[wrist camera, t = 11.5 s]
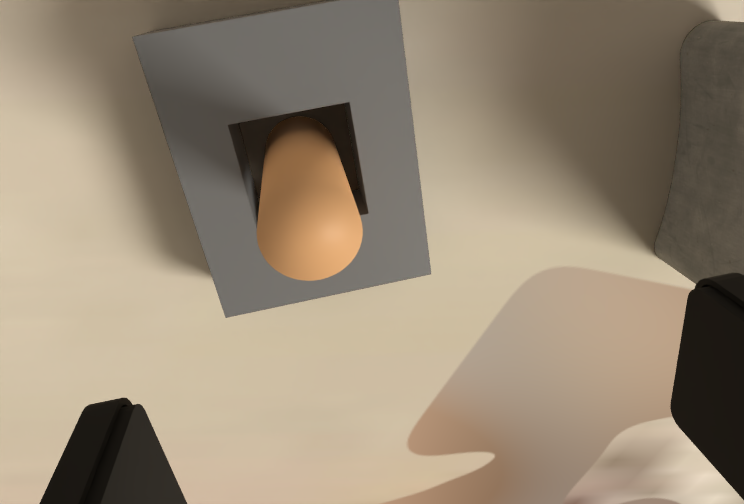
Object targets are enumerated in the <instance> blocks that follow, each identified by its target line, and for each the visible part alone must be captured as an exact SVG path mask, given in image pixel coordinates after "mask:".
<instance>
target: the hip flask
mask: <svg viewBox="0 0 744 504" xmlns="http://www.w3.org/2000/svg"><path fill="white" fill-rule="evenodd" d="M680 68H681V112H680V127H679V136H678V145H677V152H676V159H675V166H674V172H673V178H672V183H671V188H670V192H669V197H668V201H667V205H666V209H665V213H664V216H663V220H662V223H661V226H660V229H659V232H658V235H657V238H656V241H655V247H654V249H655V253H656V255H657V256H658V258H660V259H661V260H663V261H664V262H665V263H667V264H668V265H670V266H671V267H673V268H674V269H675V270H677V271H678V272H680V273H681V274H683V275H684V276H685V277H687V278H688V279H690V280H691V281H692V282H694V283H695V284H697V283H698V281H699V280H702V279H704V278H709V277H714V276H718V275H723V274H728V273H740V274H742V275H744V22H730V21H715V20H713V21H706V22H703V23H701V24H699V25H698V26H696V27H695V28H694V29H693V30H692V31H691V32H690V33H689V34H688V36H687V37H686V38H685V40H684V42H683V45H682V47H681V52H680Z"/></svg>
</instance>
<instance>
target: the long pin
mask: <svg viewBox="0 0 744 504" xmlns="http://www.w3.org/2000/svg"><path fill="white" fill-rule="evenodd" d="M362 236H363V227H362V221H361V217H360V215H359V212H358V209H357V206H356V203H355V200H354V197H353V194H352V192H351V189H350V186H349V183H348V180H347V177H346V174H345V172H344V169H343V166H342V163H341V160H340V157H339V154H338V152H337V149H336V146H335V143H334V140H333V138H332V136H331V134H330V132H329V131H328V129H327V128H326V127H325V126H324V125H323V124H321V123H320V122H318V121H317V120H314V119H312V118H309V117H303V116H296V117H291V118H288V119H285V120H283V121H281V122H280V123H278V124H277V125H276V126H275V127H274V128H273V129H272V131H271V132H270V134H269V136H268V138H267V142H266V148H265V157H264V166H263V175H262V185H261V194H260V203H259V213H258V222H257V242H258V246H259V249H260V251H261V253H262V255H263V257H264V258H265V260H266V261H267V262H268V263H269V264H270V265H271V267H273V268H274V269H275V270H276V271H278V272H280V273H281V274H283V275H285V276H287V277H290V278H293V279H297V280H305V281H314V280H321V279H324V278H328V277H330V276H333V275H335V274H337V273H339V272H340V271H341V270H343V269H344V268H345V267H347V266H348V265H349V264H350V263H351V261H352V260H353V259H354V257H355V256H356V254H357V252H358V250H359V248H360V245H361V242H362Z"/></svg>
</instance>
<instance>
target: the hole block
mask: <svg viewBox="0 0 744 504" xmlns="http://www.w3.org/2000/svg"><path fill="white" fill-rule="evenodd" d="M132 38H133V41H134V44H135V47H136V50H137V53H138V56H139V59H140V62H141V65H142V68H143V71H144V74H145V77H146V80H147V83H148V86H149V89H150V92H151V95H152V98H153V101H154V104H155V107H156V110H157V113H158V116H159V119H160V122H161V125H162V128H163V131H164V134H165V137H166V140H167V143H168V146H169V149H170V152H171V155H172V158H173V161H174V164H175V167H176V170H177V173H178V176H179V179H180V182H181V185H182V188H183V191H184V194H185V197H186V200H187V203H188V206H189V209H190V212H191V215H192V218H193V221H194V224H195V227H196V230H197V233H198V236H199V239H200V242H201V245H202V248H203V251H204V254H205V257H206V260H207V263H208V266H209V269H210V272H211V275H212V278H213V281H214V284H215V287H216V290H217V293H218V296H219V299H220V302H221V305H222V308H223V311H224V314H225V317H226V318H227V317H232V316H237V315H241V314H246V313H251V312H255V311H260V310H265V309H269V308H274V307H279V306H284V305H288V304H293V303H298V302H302V301H307V300H312V299H317V298H321V297H326V296H331V295H335V294H340V293H345V292H350V291H354V290H359V289H364V288H368V287H373V286H378V285H383V284H387V283H392V282H397V281H401V280H406V279H411V278H416V277H420V276H425V275H430V274H431V268H430V259H429V251H428V243H427V234H426V226H425V218H424V209H423V201H422V193H421V184H420V176H419V168H418V159H417V151H416V143H415V134H414V126H413V118H412V109H411V101H410V93H409V84H408V76H407V68H406V59H405V51H404V43H403V34H402V26H401V18H400V9H399V1H398V0H327V1H321V2H316V3H310V4H304V5H298V6H293V7H287V8H281V9H276V10H270V11H264V12H259V13H253V14H247V15H241V16H236V17H230V18H224V19H219V20H213V21H207V22H202V23H196V24H190V25H185V26H179V27H173V28H167V29H162V30H156V31H151V32H147V33H144V34H141V35H137V36H134V37H132ZM341 103H344V105H345V111H346V117H347V123H348V128H349V134H350V140H351V145H352V151H353V157H354V163H355V168H356V174H357V180H358V185H359V190H355V191H351V192H352V194H353V197H354V200H355V203H356V206H357V209H358V212H359V215H360V217H361V221H362V227H363V236H362V242H361V245H360V248H359V250H358V252H357V254H356V256H355V257H354V259H353V260H352V261H351V263H350V264H349V265H348V266H347V267H345V268H344V269H343V270H341V271H340V272H339V273H337V274H335V275H333V276H330V277H328V278H324V279H321V280H314V281H305V280H297V279H293V278H290V277H287V276H285V275H283V274H281V273H280V272H278V271H276V270H275V269H274V268H273V267H271V265H270V264H269V263H268V262H267V261H266V260H265V258H264V257H263V255H262V253H261V251H260V249H259V246H258V242H257V222H258V213H259V199H258V196H257V192H256V188H255V184H254V181H253V177H252V173H251V169H250V166H249V162H248V158H247V155H246V151H245V147H244V143H243V140H242V136H241V132H240V128H239V125H238V123H240V122H246V121H251V120H256V119H262V118H267V117H272V116H278V115H283V114H288V113H294V112H299V111H304V110H309V109H315V108H320V107H325V106H331V105H336V104H341Z"/></svg>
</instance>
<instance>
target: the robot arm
mask: <svg viewBox="0 0 744 504" xmlns="http://www.w3.org/2000/svg"><path fill="white" fill-rule="evenodd" d="M671 412H672V416H673V418H674V420H675V422H676V424H677V425H678V426H679V428H680V429H681V430H682V431H683V432H684V433H685V434H686V435H687V437H688V438H689V439H690V440H691V441H692V442H693V443H694V444H695V446H696V447H697V448H698V449H699V450H700V451H701V452H702V454H703V455H704V456H705V457H706V458H707V459H708V460H709V461H710V463H711V464H712V465H713V466H714V467H715V468H716V469H717V470H718V472H719V473H720V474H721V475H722V476H723V477H724V478H725V479H726V481H727V482H728V483H729V484H730V485H731V486H732V487H733V488H734V490H735V491H736V492H737V493H738V494H739V495H740V496H741V497H742V499H743V500H744V275H742V274H740V273H728V274H723V275H718V276H714V277H709V278H704V279H702V280H699V281H698V283H697V284H696V286H695V289H694V290H692V291H691V292H690V293H689V295H688V299H687V305H686V312H685V319H684V324H683V330H682V337H681V343H680V349H679V355H678V361H677V368H676V374H675V380H674V386H673V392H672V399H671ZM40 504H187V502H186V500H185V498H184V496H183V494H182V491H181V489H180V487H179V485H178V482H177V480H176V478H175V476H174V474H173V471H172V469H171V467H170V465H169V462H168V460H167V458H166V456H165V454H164V451H163V449H162V447H161V445H160V443H159V440H158V438H157V436H156V434H155V431H154V429H153V427H152V425H151V423H150V420H149V418H148V416H147V414H146V412H145V410H144V408H143V406H142V405H140V404H136V405H132V403H131V402H130V400H128V399H127V398H120V399H115V400H110V401H105V402H100V403H95V404H90V405H88V406H86V407H85V409H84V410H83V412H82V414H81V416H80V418H79V420H78V422H77V424H76V426H75V429H74V431H73V433H72V435H71V437H70V439H69V441H68V444H67V446H66V448H65V450H64V452H63V454H62V457H61V459H60V461H59V463H58V465H57V467H56V469H55V472H54V474H53V476H52V478H51V480H50V482H49V484H48V487H47V489H46V491H45V493H44V495H43V497H42V499H41V502H40Z"/></svg>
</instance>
